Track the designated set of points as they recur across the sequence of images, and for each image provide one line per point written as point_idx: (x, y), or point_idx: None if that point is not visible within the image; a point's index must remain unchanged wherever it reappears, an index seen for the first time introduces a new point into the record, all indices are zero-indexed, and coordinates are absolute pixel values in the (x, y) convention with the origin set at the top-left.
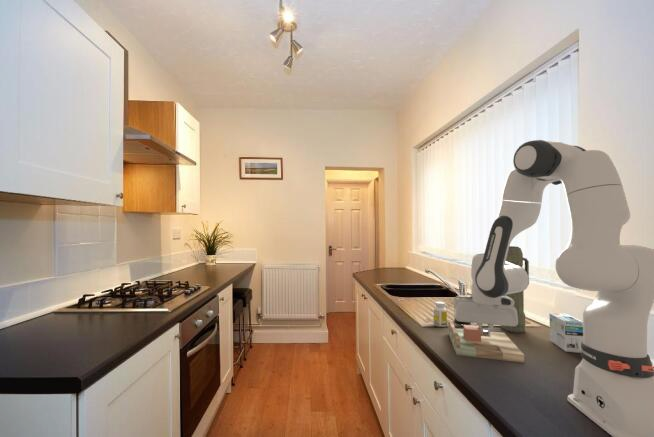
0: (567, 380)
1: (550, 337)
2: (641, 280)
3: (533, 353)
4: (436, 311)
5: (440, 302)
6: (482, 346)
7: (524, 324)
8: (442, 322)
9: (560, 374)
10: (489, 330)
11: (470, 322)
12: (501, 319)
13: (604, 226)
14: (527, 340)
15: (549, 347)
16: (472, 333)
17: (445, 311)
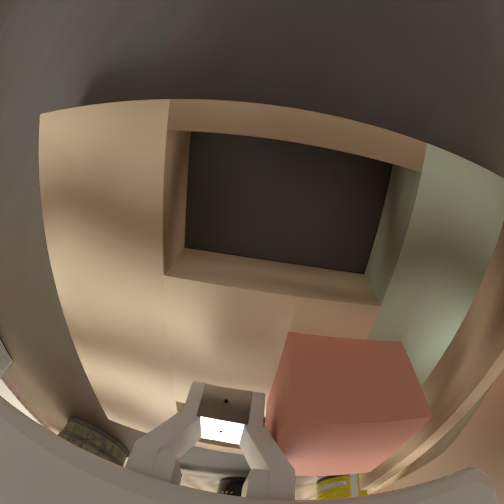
0: (22, 7)
1: (5, 365)
2: None
3: (26, 262)
4: None
5: None
6: (294, 282)
7: (58, 435)
8: (346, 480)
9: (11, 49)
10: (183, 424)
11: (221, 484)
12: (25, 477)
13: None
14: (53, 375)
15: (3, 319)
16: (369, 391)
17: None
